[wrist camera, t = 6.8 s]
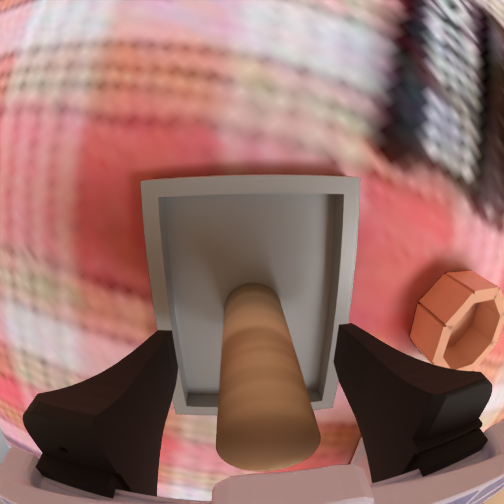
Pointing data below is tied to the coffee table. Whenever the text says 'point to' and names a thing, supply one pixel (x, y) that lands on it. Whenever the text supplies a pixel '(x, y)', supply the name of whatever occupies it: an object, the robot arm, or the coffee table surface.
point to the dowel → (261, 386)
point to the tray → (250, 268)
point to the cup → (458, 320)
